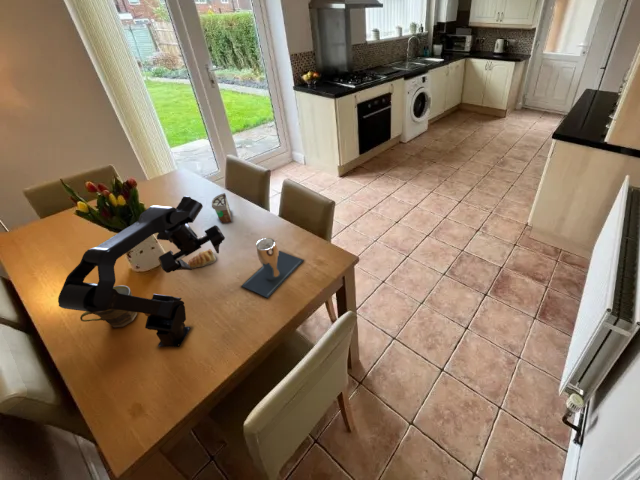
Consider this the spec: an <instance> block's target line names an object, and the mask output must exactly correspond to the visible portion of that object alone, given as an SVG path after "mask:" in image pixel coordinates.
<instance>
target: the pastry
mask: <svg viewBox="0 0 640 480" xmlns="http://www.w3.org/2000/svg"><path fill="white" fill-rule="evenodd" d="M216 258H217V257H216V256H215V253H214V251H213V250H212V249H211V248H208V249H207V250H204V251H199V253H197V254H196V255H195V256H193V257H192V258H190V259H189V260H188V262H187V264H188V265H189V266H190V267H191V268H192V269H195V268H202V267H205V266H208V265H211V264H213V263H215V262H216V260H217V259H216Z"/></svg>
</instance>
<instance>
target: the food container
mask: <svg viewBox="0 0 640 480" xmlns="http://www.w3.org/2000/svg"><path fill="white" fill-rule="evenodd" d="M211 208H212V209H213V210H214V211H215V213H216V215H217V217H218V220H219V221H220V222H221V223H224V224H231V223H232V212H231V207H230V204H229V202H228V198H227V195H226V193H225V192H224V193H223V192H222V193H221V194H218V195H216V196H215V197H213V198H212V200H211Z"/></svg>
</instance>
